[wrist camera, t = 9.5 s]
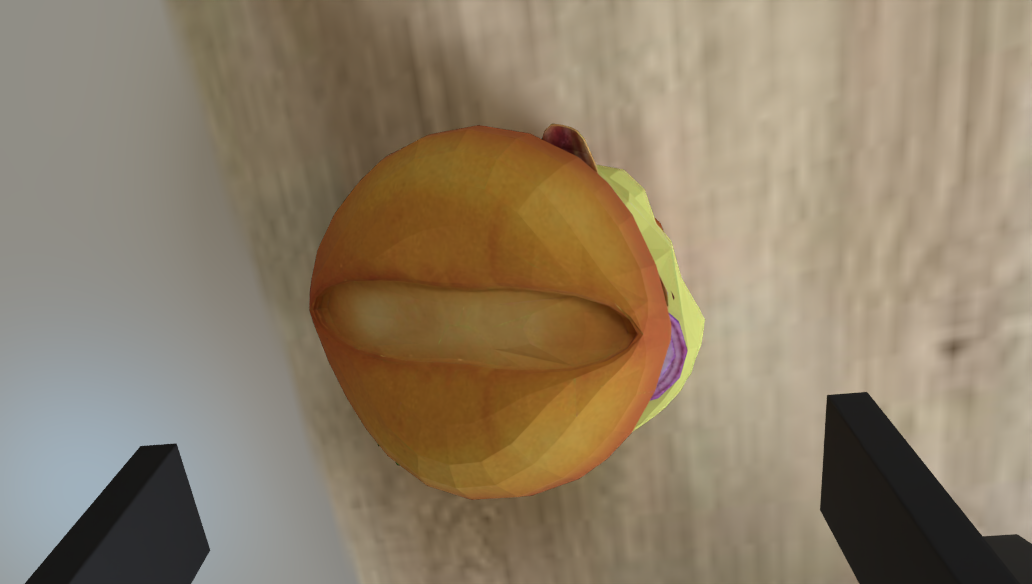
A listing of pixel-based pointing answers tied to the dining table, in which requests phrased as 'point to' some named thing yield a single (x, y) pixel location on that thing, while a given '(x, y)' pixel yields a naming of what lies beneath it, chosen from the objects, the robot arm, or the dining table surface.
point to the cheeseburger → (502, 309)
